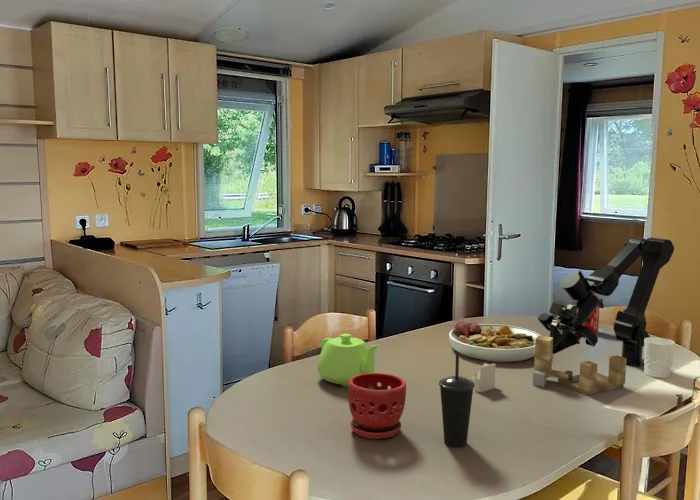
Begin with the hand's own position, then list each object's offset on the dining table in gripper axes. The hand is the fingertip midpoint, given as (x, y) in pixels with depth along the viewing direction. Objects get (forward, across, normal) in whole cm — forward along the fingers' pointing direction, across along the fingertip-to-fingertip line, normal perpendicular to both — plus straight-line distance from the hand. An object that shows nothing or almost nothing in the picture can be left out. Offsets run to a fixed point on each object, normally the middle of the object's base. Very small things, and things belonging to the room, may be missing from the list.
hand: (549, 352), depth 177 cm
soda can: (-28, -31, +39) cm, 57 cm away
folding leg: (+5, +3, +3) cm, 7 cm away
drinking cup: (+39, +23, -28) cm, 54 cm away
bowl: (+4, -28, +8) cm, 30 cm away
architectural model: (+21, 0, -10) cm, 24 cm away
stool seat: (+1, +10, +10) cm, 14 cm away
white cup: (-16, +11, +27) cm, 33 cm away
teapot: (+43, -22, -31) cm, 57 cm away
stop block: (+10, +3, +1) cm, 10 cm away
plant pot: (+48, +10, -37) cm, 62 cm away
